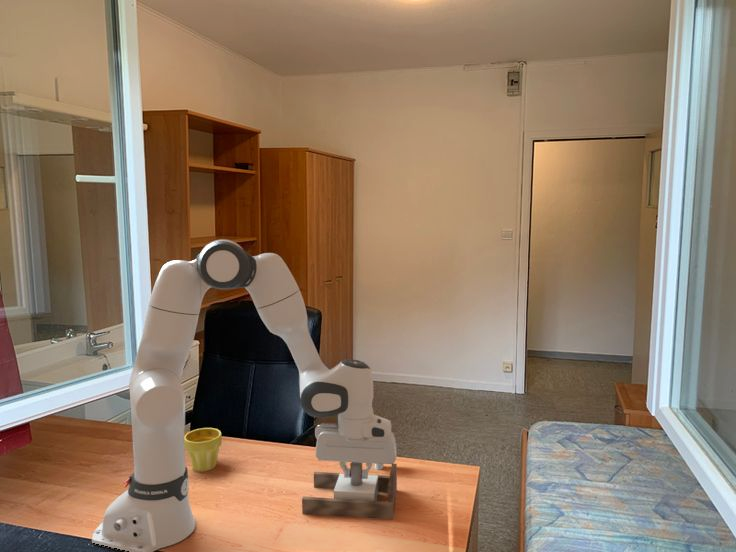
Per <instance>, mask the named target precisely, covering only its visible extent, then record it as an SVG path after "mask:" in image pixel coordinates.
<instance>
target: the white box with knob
mask: <svg viewBox="0 0 736 552" xmlns="http://www.w3.org/2000/svg"><path fill="white" fill-rule="evenodd" d="M349 465H350V468H349V469H350V478H344V474H341V472H339V473H340V475H339V477H338V480H337V483H336V486H335V488H334V489H333V498H336V499H353V500H369V501H378V496H379V491H378V474H368V479H362V470H363V463H359V462H350V464H349Z"/></svg>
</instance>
